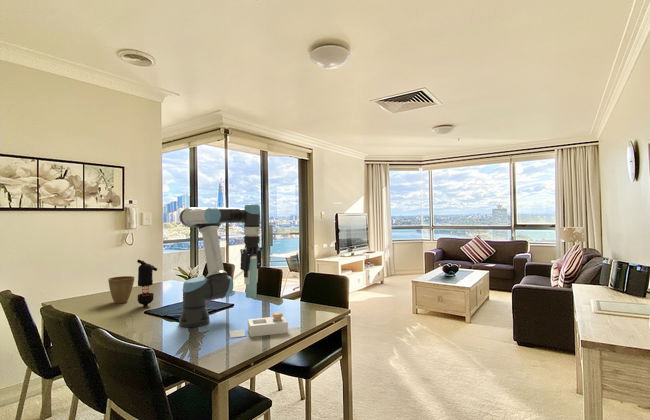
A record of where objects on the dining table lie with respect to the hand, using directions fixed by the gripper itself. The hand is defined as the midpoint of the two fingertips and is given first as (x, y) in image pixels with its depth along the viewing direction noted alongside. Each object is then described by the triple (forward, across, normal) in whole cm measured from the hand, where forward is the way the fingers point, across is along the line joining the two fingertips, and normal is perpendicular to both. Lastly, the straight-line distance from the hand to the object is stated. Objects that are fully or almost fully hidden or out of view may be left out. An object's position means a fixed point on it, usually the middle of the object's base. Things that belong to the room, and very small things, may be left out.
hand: (251, 282), depth 163 cm
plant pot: (+27, +1, +113) cm, 116 cm away
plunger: (+21, +9, -10) cm, 25 cm away
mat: (+24, -5, +3) cm, 25 cm away
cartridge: (+7, 0, 0) cm, 7 cm away
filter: (+26, +4, +89) cm, 93 cm away
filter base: (+24, +6, -6) cm, 26 cm away
